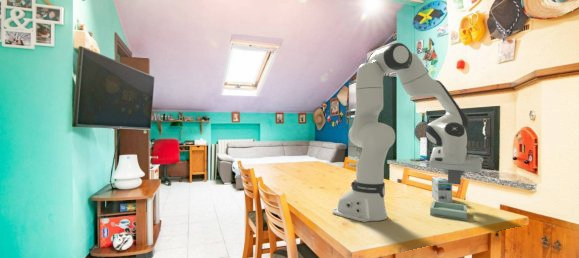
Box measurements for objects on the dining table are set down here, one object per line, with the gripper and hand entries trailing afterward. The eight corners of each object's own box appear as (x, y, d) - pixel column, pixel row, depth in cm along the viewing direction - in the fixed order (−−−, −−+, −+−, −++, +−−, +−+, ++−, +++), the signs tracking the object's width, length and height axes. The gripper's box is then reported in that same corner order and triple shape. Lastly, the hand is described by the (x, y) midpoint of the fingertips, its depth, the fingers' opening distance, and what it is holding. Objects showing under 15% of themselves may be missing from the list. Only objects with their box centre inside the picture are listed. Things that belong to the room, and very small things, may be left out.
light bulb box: (452, 202, 134) (452, 180, 134) (437, 202, 136) (438, 180, 136) (444, 197, 145) (445, 176, 145) (431, 196, 146) (431, 176, 146)
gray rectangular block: (447, 183, 127) (448, 165, 127) (448, 181, 131) (448, 164, 131) (460, 184, 124) (461, 167, 124) (460, 182, 128) (461, 165, 128)
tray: (430, 214, 116) (430, 207, 116) (432, 207, 127) (432, 200, 127) (466, 220, 109) (466, 213, 109) (466, 212, 120) (466, 205, 120)
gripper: (483, 150, 116) (481, 170, 124) (429, 147, 127) (430, 166, 135) (483, 161, 112) (481, 181, 120) (428, 157, 123) (429, 176, 131)
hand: (454, 173), depth 128 cm, fingers closed on gray rectangular block, 5 cm apart
